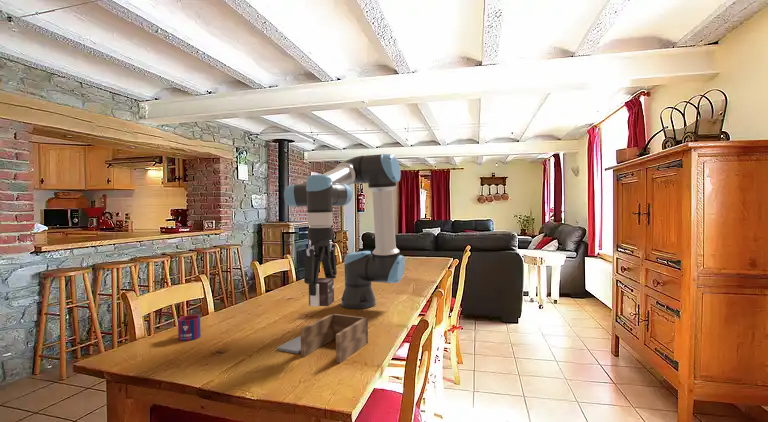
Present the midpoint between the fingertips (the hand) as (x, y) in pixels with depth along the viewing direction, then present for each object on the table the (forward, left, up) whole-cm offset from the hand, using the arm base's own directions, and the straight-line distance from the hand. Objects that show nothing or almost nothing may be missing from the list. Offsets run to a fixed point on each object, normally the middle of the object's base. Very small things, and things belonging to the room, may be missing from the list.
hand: (321, 302), depth 116 cm
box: (0, 0, -1) cm, 1 cm away
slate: (-1, -9, -15) cm, 17 cm away
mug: (+6, -49, -15) cm, 52 cm away
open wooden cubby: (-3, +3, -15) cm, 15 cm away
